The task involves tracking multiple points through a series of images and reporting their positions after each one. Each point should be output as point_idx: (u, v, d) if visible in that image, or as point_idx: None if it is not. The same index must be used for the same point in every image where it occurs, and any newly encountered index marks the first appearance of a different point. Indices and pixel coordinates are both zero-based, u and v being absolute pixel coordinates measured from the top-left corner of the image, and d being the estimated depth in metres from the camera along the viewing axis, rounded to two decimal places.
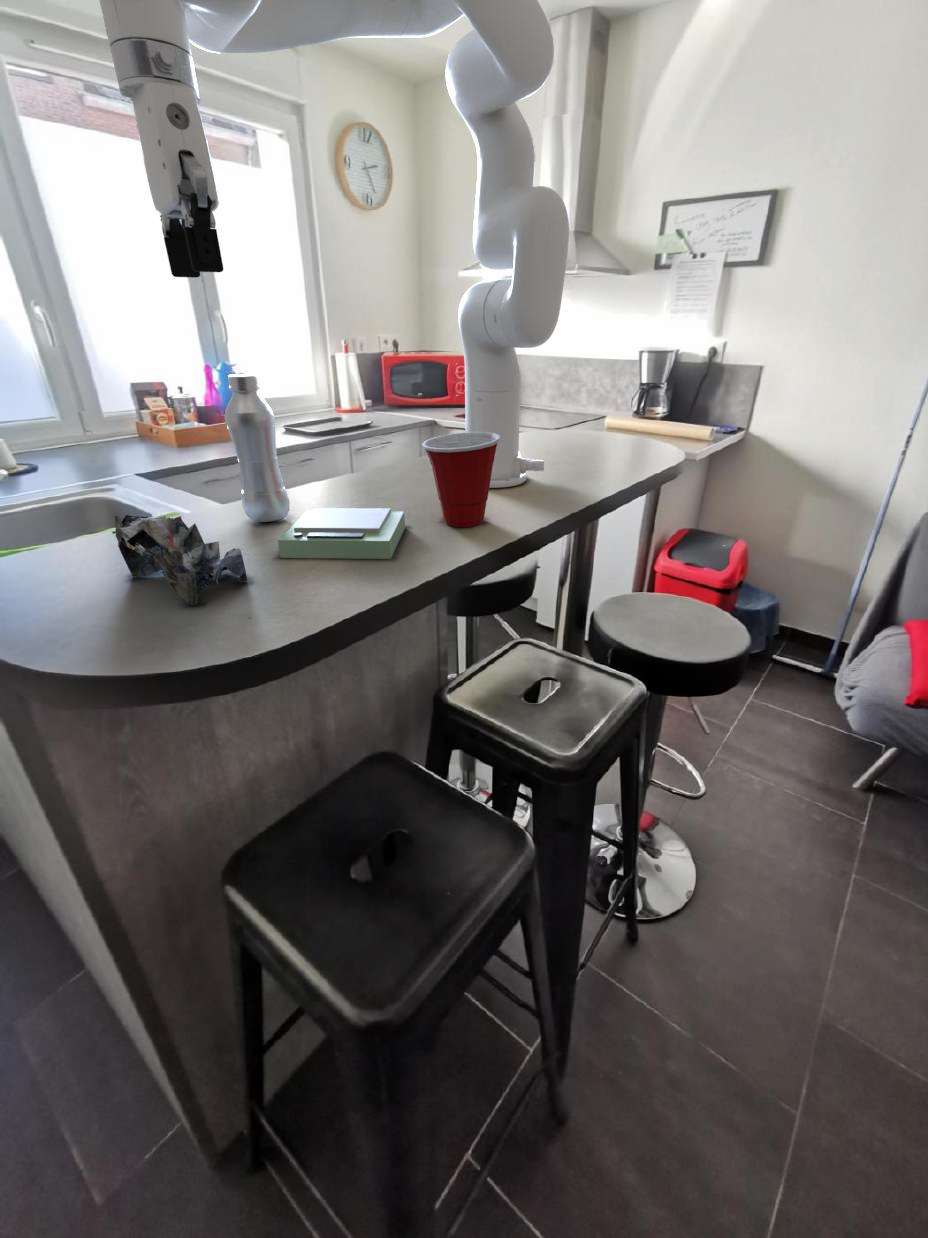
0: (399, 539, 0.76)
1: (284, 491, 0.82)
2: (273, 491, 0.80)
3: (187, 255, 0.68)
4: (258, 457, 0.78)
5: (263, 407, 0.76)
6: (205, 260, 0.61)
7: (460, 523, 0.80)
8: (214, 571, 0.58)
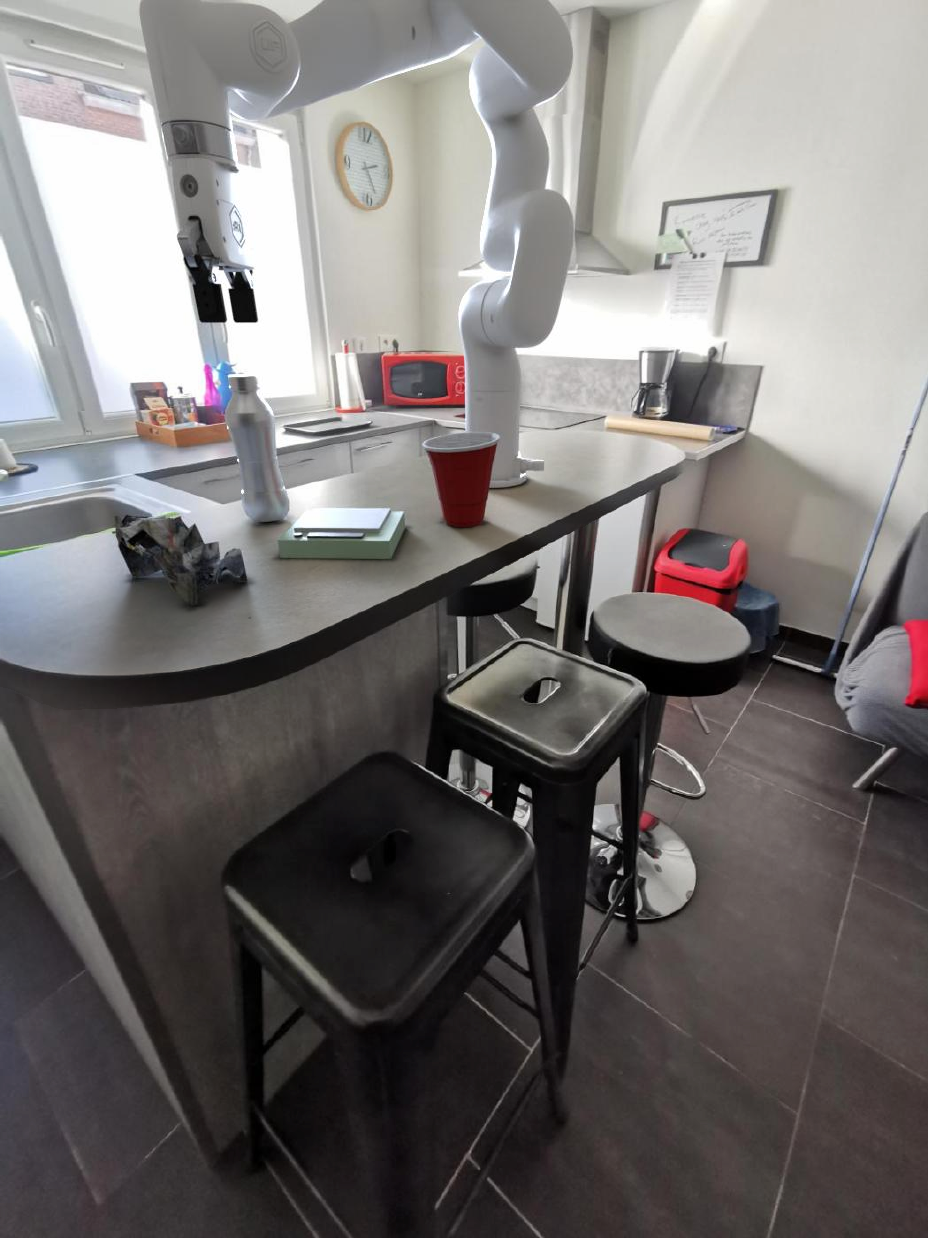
0: (399, 539, 0.76)
1: (284, 491, 0.82)
2: (273, 491, 0.80)
3: (245, 303, 0.75)
4: (258, 457, 0.78)
5: (263, 407, 0.76)
6: (205, 313, 0.66)
7: (460, 523, 0.80)
8: (214, 571, 0.58)
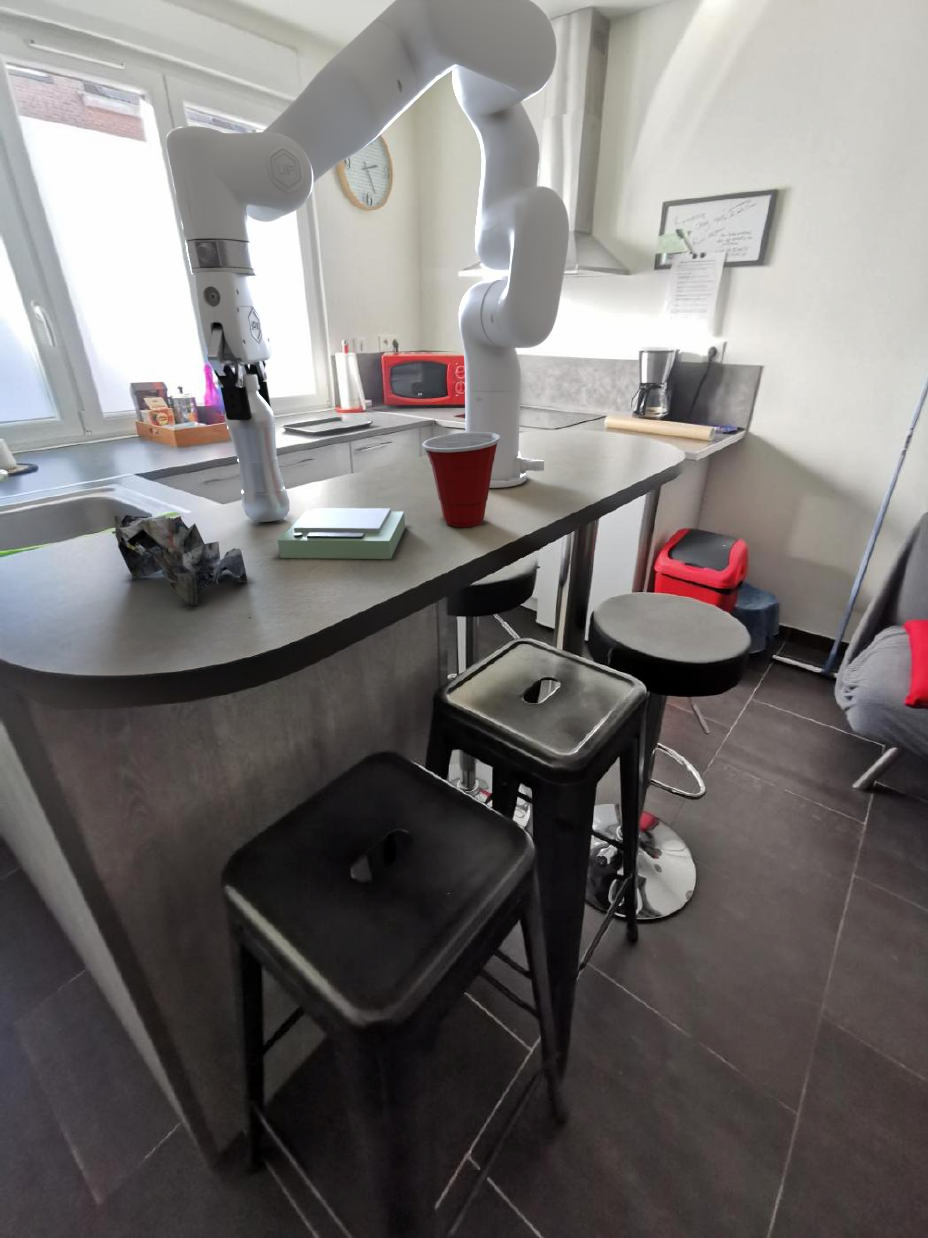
0: (399, 539, 0.76)
1: (284, 491, 0.82)
2: (273, 491, 0.80)
3: None
4: (258, 457, 0.78)
5: (263, 407, 0.76)
6: (232, 413, 0.73)
7: (460, 523, 0.80)
8: (214, 571, 0.58)
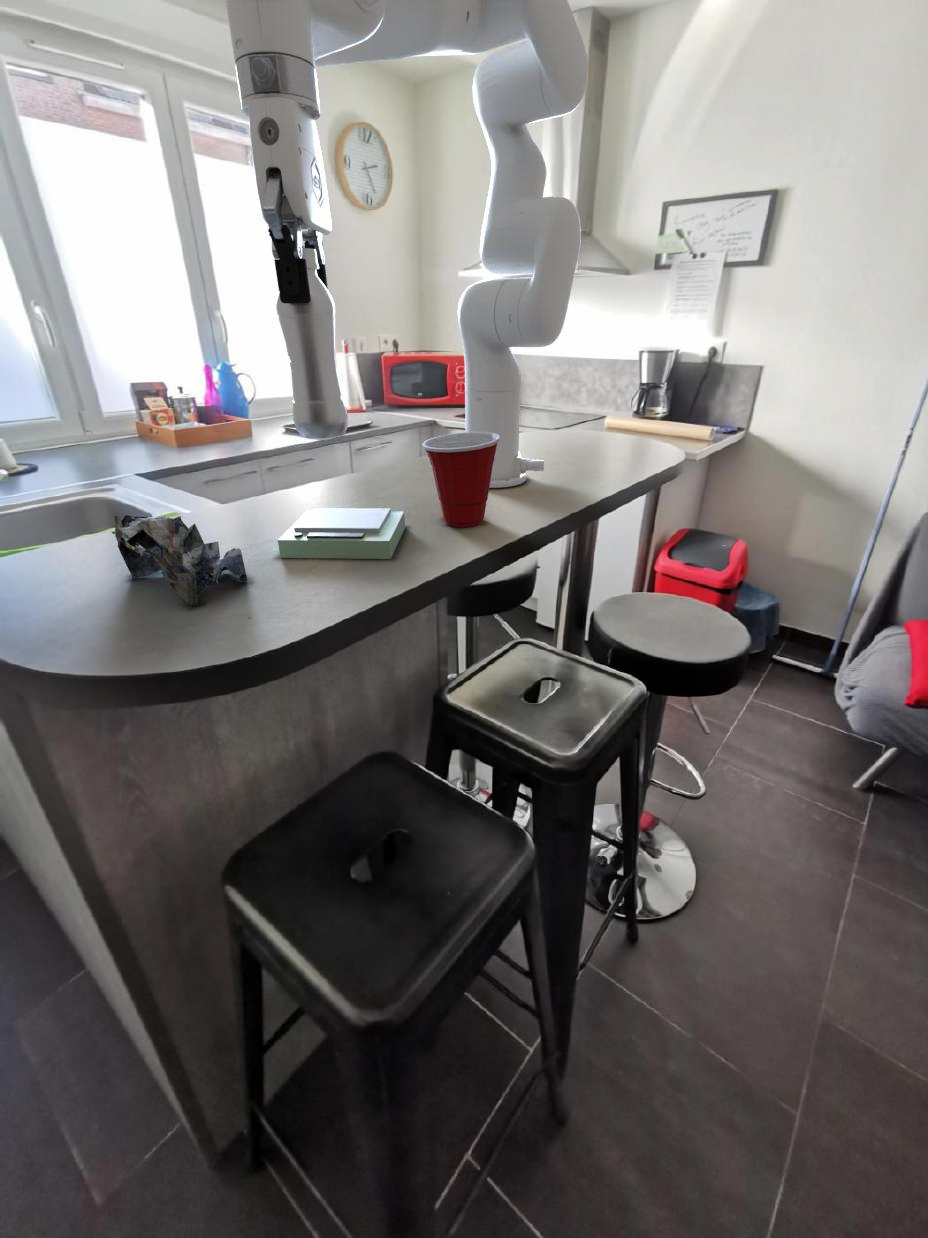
0: (399, 539, 0.76)
1: (343, 402, 0.69)
2: (331, 400, 0.67)
3: None
4: (315, 355, 0.64)
5: (323, 290, 0.62)
6: (288, 292, 0.59)
7: (460, 523, 0.80)
8: (214, 571, 0.58)
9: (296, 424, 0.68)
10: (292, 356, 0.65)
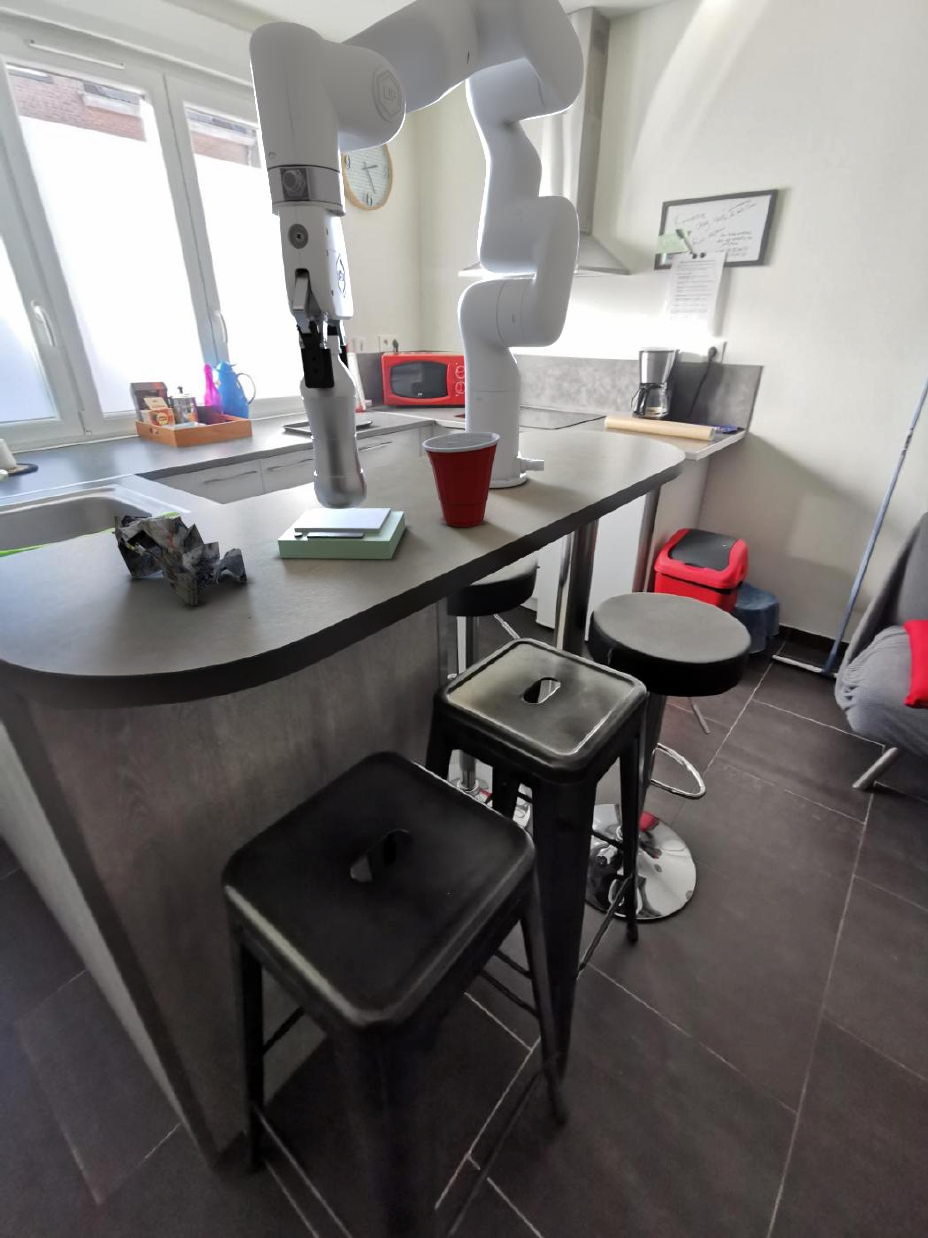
0: (399, 539, 0.76)
1: (362, 474, 0.71)
2: (352, 473, 0.69)
3: None
4: (337, 433, 0.67)
5: (345, 373, 0.65)
6: (313, 379, 0.62)
7: (460, 523, 0.80)
8: (214, 571, 0.58)
9: (317, 495, 0.71)
10: (315, 434, 0.67)
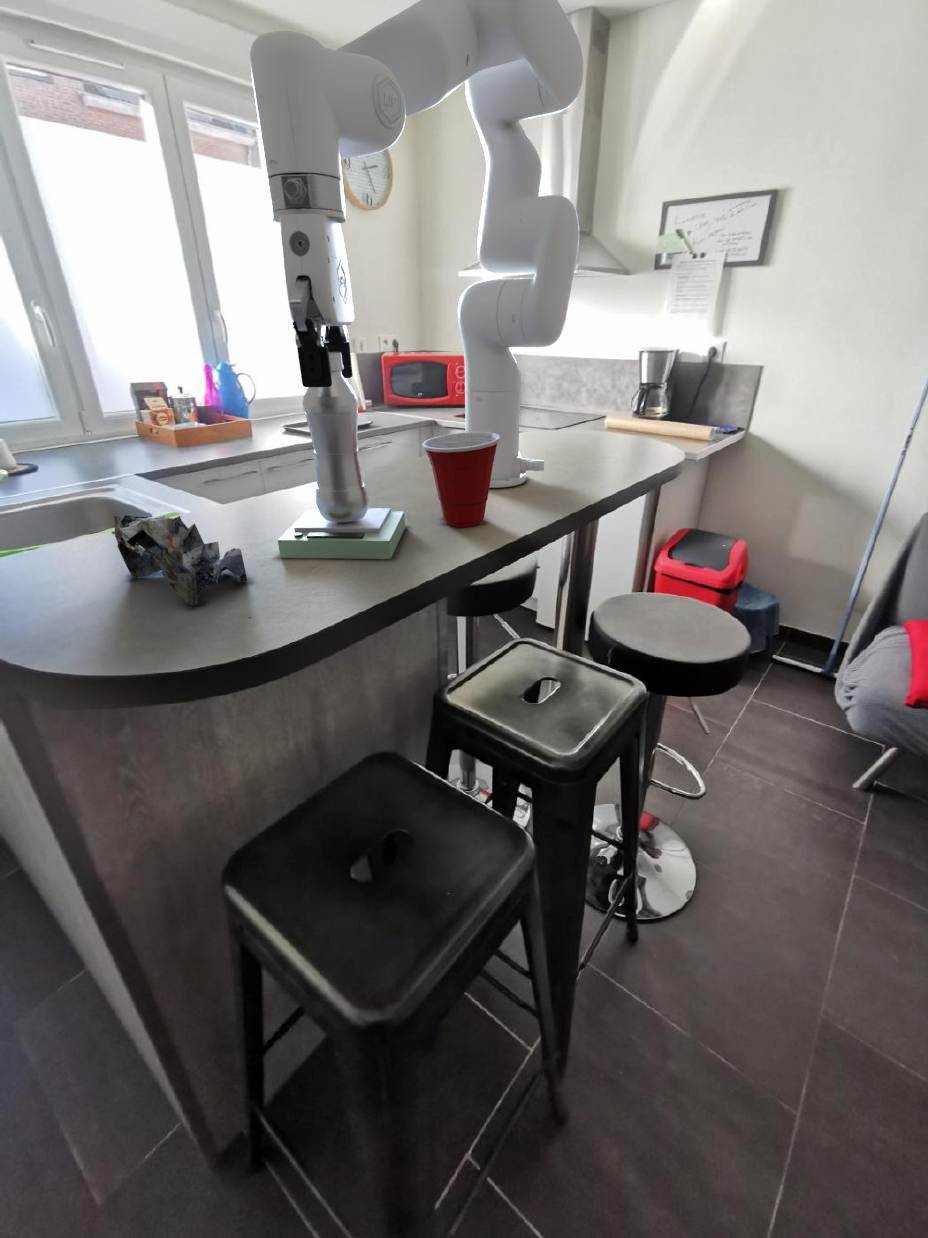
0: (399, 539, 0.76)
1: (364, 487, 0.72)
2: (354, 487, 0.70)
3: None
4: (340, 448, 0.68)
5: (348, 390, 0.66)
6: (310, 378, 0.61)
7: (460, 523, 0.80)
8: (214, 571, 0.58)
9: (319, 508, 0.72)
10: (317, 448, 0.68)
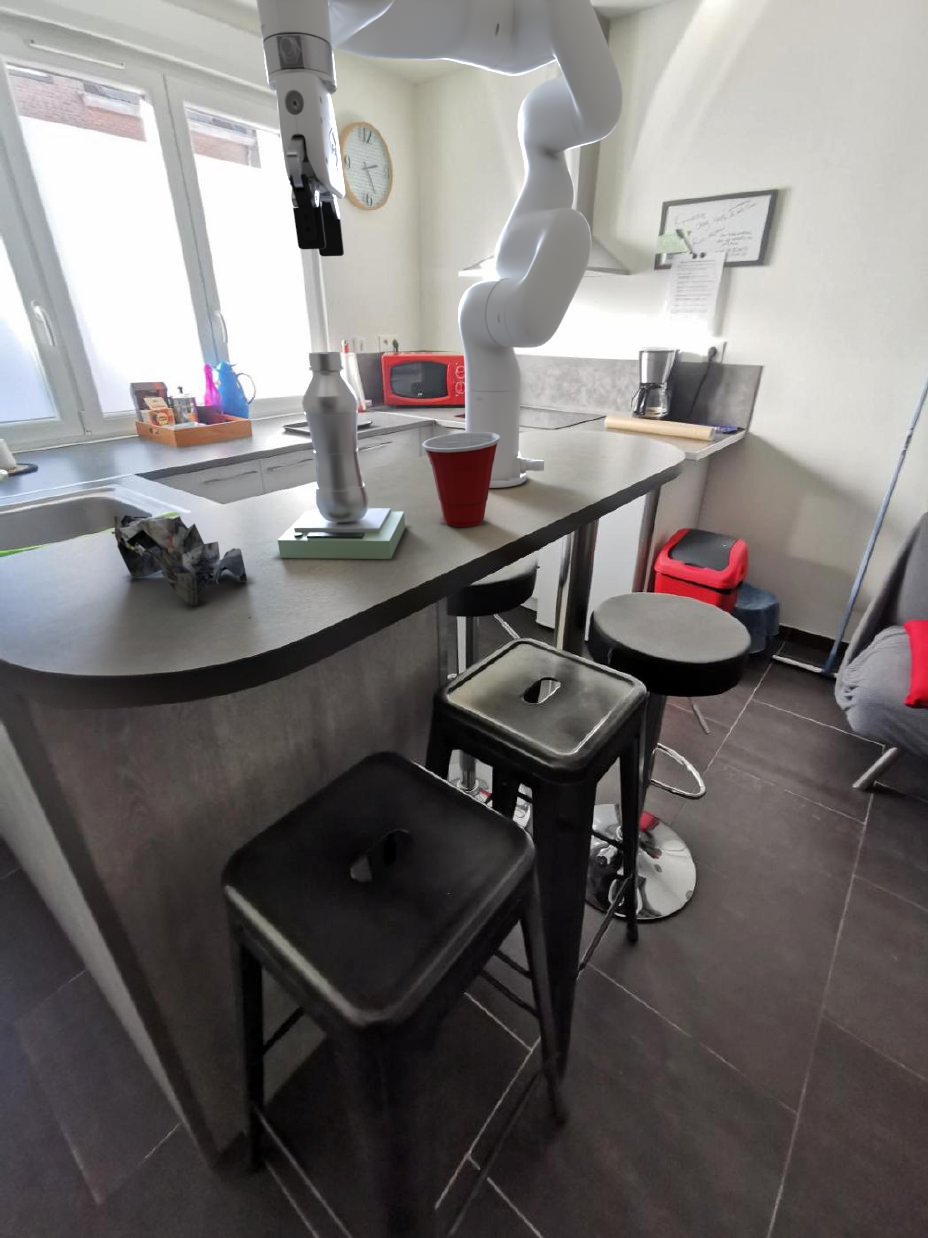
0: (399, 539, 0.76)
1: (364, 487, 0.72)
2: (354, 487, 0.70)
3: (332, 235, 0.74)
4: (339, 448, 0.68)
5: (347, 389, 0.66)
6: (306, 238, 0.66)
7: (460, 523, 0.80)
8: (214, 571, 0.58)
9: (319, 508, 0.72)
10: (317, 448, 0.68)
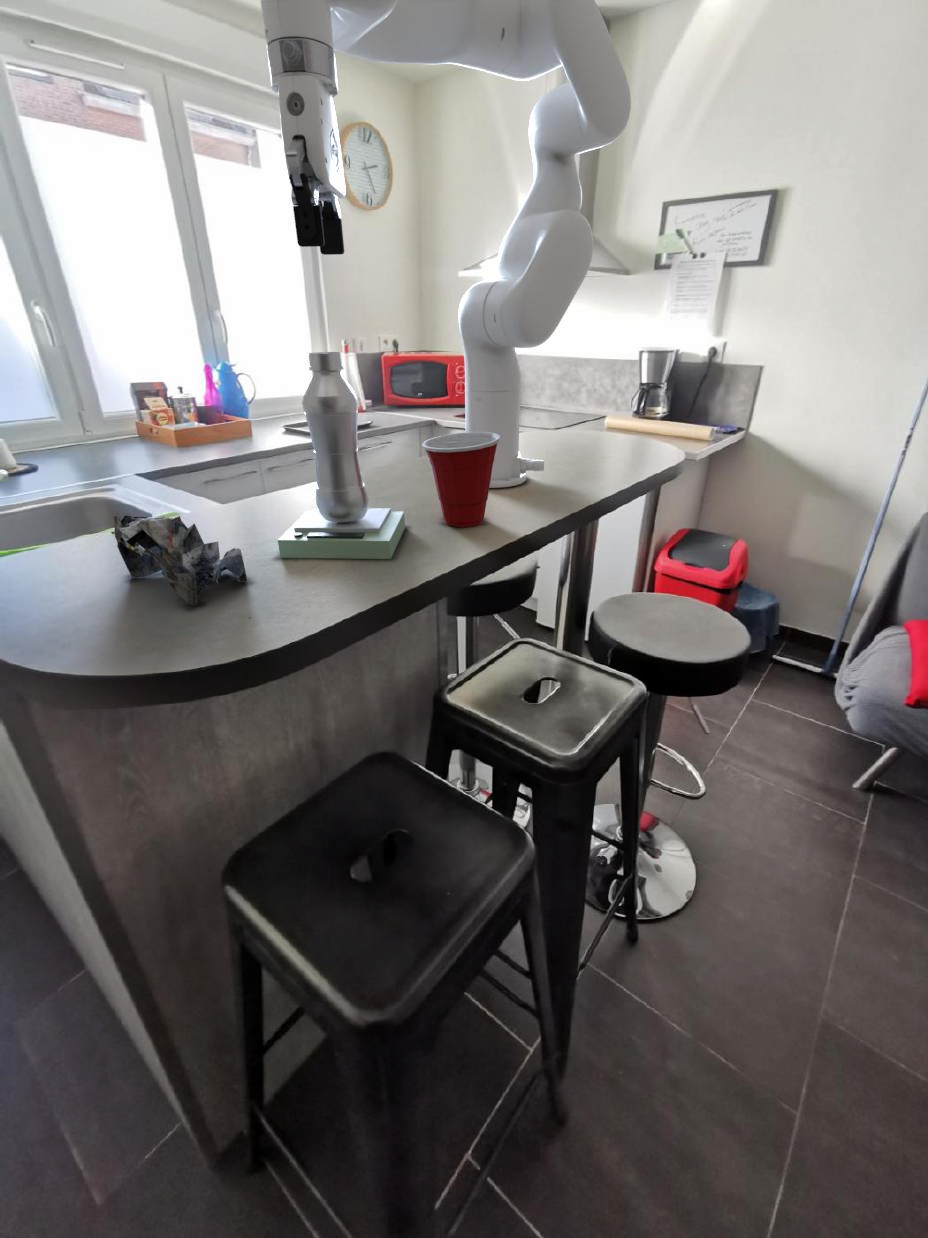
0: (399, 539, 0.76)
1: (364, 487, 0.72)
2: (354, 487, 0.70)
3: (333, 234, 0.76)
4: (339, 448, 0.68)
5: (347, 389, 0.66)
6: (305, 235, 0.67)
7: (460, 523, 0.80)
8: (214, 571, 0.58)
9: (319, 508, 0.72)
10: (317, 448, 0.68)
